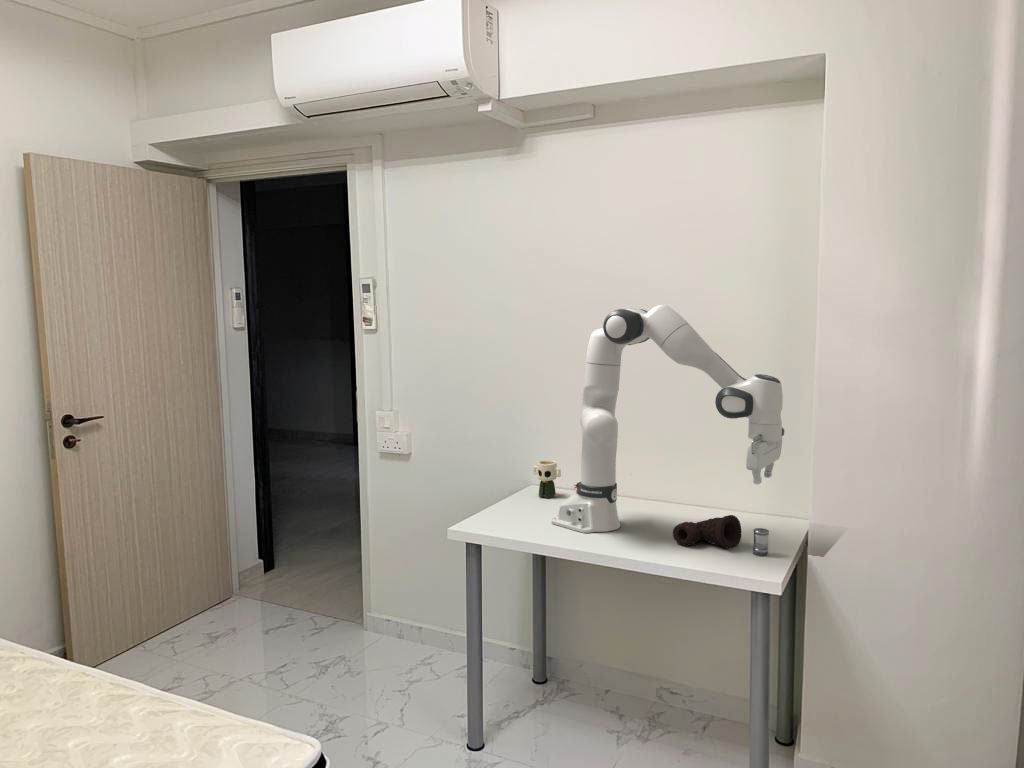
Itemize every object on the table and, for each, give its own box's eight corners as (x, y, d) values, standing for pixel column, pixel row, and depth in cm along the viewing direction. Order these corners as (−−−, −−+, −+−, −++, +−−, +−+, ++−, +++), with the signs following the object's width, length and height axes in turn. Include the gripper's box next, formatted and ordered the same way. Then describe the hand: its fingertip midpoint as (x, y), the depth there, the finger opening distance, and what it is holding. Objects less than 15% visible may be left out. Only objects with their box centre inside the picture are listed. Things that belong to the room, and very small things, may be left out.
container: (765, 557, 220) (766, 533, 219) (750, 554, 222) (751, 530, 221) (770, 553, 223) (770, 529, 222) (755, 550, 225) (756, 527, 225)
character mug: (529, 497, 286) (529, 462, 284) (537, 492, 292) (537, 459, 291) (556, 500, 281) (556, 465, 279) (564, 496, 287) (564, 461, 286)
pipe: (669, 518, 233) (712, 519, 222) (698, 511, 243) (740, 512, 232) (672, 550, 232) (715, 554, 221) (701, 542, 242) (743, 545, 231)
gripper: (764, 439, 208) (762, 489, 210) (786, 428, 225) (784, 475, 226) (741, 436, 212) (739, 486, 213) (764, 426, 228) (762, 472, 230)
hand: (762, 480), depth 220 cm, fingers open, 8 cm apart
